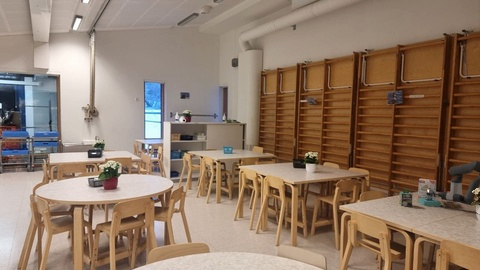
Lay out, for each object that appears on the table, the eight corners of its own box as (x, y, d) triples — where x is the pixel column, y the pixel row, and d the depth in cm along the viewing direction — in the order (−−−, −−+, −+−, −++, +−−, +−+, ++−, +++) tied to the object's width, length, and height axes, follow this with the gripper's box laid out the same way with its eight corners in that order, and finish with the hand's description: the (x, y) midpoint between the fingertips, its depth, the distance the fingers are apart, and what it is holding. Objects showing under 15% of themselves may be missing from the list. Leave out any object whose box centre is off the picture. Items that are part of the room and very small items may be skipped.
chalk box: (409, 204, 298) (410, 188, 297) (412, 206, 289) (413, 190, 288) (398, 203, 300) (399, 187, 300) (401, 206, 291) (401, 189, 291)
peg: (430, 203, 302) (431, 189, 302) (432, 205, 298) (433, 190, 297) (425, 203, 303) (426, 188, 302) (427, 204, 299) (428, 189, 298)
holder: (454, 204, 301) (454, 201, 301) (461, 208, 289) (461, 204, 289) (440, 203, 303) (440, 200, 303) (446, 207, 291) (446, 203, 291)
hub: (434, 202, 306) (434, 198, 306) (440, 206, 292) (440, 202, 292) (418, 202, 308) (418, 197, 308) (424, 205, 295) (424, 201, 294)
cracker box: (417, 199, 320) (418, 178, 319) (419, 198, 324) (420, 178, 323) (433, 202, 309) (434, 180, 308) (435, 201, 313) (436, 180, 313)
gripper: (450, 191, 293) (431, 188, 305) (445, 193, 284) (425, 190, 296) (450, 199, 293) (431, 196, 306) (445, 201, 284) (425, 198, 296)
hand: (428, 193), depth 301 cm, fingers open, 8 cm apart
